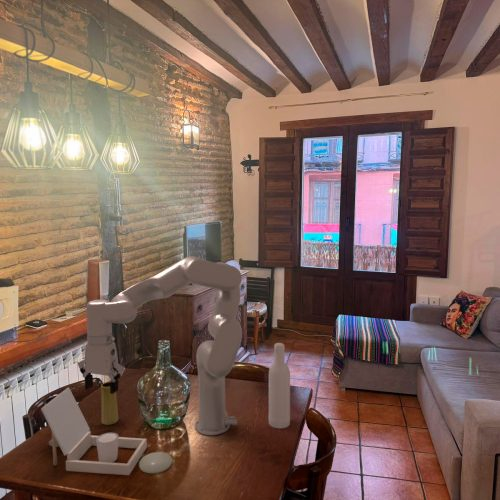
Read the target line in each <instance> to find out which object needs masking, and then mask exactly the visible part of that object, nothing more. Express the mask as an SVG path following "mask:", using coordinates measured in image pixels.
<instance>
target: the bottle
mask: <svg viewBox="0 0 500 500" xmlns="http://www.w3.org/2000/svg"><path fill="white" fill-rule="evenodd" d="M285 347H286V346H285V344H284V343H282V342H276V343H274V346H273V350H274V351H273V352H274V353H273V354H274V355H273V357H274V360H273V361H274V362H273V363H272V364H271V365H270V367H269V370H268V416H267V417H268V418H267V419H268V424H269V426H270V427H272V428H274V429H280V430H281V429H285V428H288V427H289V426H290V424H291V370H290V368H289V366H288V364H286V363H285V349H286V348H285Z"/></svg>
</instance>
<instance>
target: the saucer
mask: <svg viewBox="0 0 500 500" xmlns="http://www.w3.org/2000/svg"><path fill="white" fill-rule="evenodd" d="M138 463H139V464H138V467H139V469H140V471H141V472H144V473H146V474H160V473H162V472H165V471H166V470H168V469H170V467H171V466H172V464H173V458H172V456H171V454H168V453H167V452H164V451H156V452H155V451H154V452H151V453H148V454H146V455H144V456H143V457H142V458H140V459H139V461H138Z"/></svg>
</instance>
